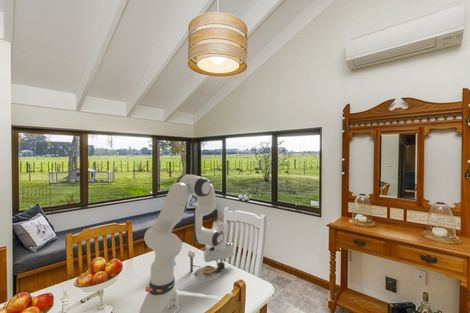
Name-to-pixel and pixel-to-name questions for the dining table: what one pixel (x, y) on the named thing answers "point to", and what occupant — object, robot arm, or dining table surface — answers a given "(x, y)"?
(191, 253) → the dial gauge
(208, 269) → the cover
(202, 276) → the turntable
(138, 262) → the dining table surface
